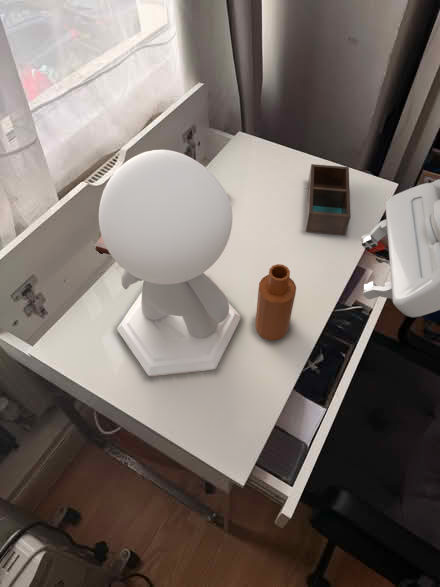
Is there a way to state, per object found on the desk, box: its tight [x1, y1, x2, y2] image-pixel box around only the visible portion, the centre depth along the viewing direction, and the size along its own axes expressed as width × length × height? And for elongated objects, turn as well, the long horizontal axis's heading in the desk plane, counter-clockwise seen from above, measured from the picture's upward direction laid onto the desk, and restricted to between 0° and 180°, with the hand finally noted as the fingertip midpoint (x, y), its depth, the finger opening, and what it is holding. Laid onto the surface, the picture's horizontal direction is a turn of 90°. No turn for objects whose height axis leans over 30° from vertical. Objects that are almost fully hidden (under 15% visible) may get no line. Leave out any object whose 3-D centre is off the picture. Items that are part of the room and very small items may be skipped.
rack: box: [305, 163, 351, 236], centre depth 96 cm, size 8×16×6 cm, turn 171°
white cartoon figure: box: [98, 149, 242, 377], centre depth 67 cm, size 20×23×35 cm
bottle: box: [254, 263, 297, 341], centre depth 74 cm, size 6×6×16 cm
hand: (364, 267), depth 64 cm, fingers open, 8 cm apart
